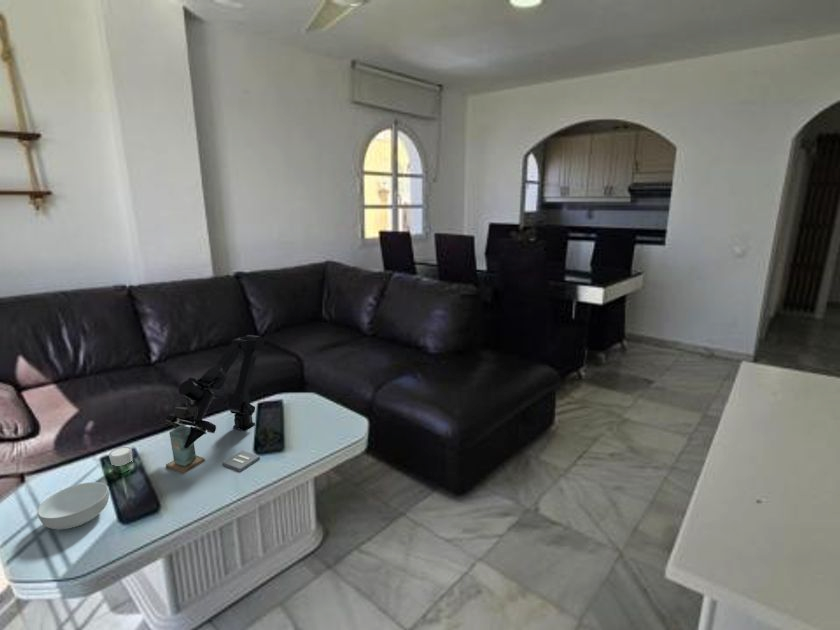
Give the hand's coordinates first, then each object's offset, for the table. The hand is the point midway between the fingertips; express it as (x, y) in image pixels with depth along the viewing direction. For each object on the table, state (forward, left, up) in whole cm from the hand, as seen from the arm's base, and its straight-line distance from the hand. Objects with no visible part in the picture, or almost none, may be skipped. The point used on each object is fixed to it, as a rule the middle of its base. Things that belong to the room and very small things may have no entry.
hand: (179, 446), depth 162 cm
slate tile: (-11, +17, -8) cm, 22 cm away
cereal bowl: (+33, -3, -8) cm, 34 cm away
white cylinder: (+11, -17, -8) cm, 22 cm away
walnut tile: (-1, 0, -8) cm, 8 cm away
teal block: (-1, 0, -7) cm, 7 cm away
